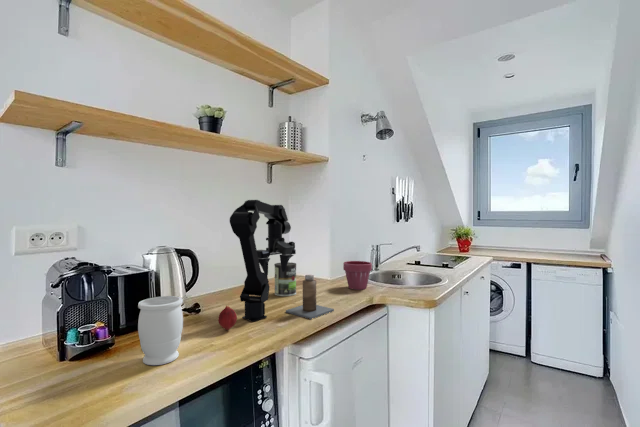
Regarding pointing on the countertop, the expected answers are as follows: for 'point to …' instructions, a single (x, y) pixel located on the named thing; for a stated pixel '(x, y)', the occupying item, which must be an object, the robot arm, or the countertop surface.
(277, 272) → the coffee can
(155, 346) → the jar
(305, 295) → the pepper mill
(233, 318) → the onion
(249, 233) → the robot arm
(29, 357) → the countertop surface
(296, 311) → the slate board
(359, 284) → the plant pot
